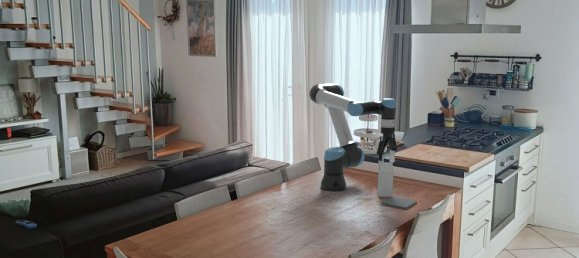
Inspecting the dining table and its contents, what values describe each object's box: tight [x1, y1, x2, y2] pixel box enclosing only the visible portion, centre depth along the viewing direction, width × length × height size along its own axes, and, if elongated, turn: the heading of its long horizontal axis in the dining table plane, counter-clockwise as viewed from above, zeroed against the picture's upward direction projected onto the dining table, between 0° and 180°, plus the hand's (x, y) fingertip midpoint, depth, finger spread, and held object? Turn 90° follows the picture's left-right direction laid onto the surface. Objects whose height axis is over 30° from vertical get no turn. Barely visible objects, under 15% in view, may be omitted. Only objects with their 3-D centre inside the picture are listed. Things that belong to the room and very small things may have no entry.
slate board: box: [381, 195, 418, 211], centre depth 280 cm, size 14×14×1 cm
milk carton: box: [377, 162, 394, 198], centre depth 293 cm, size 7×7×19 cm
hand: (386, 164), depth 291 cm, fingers open, 13 cm apart
